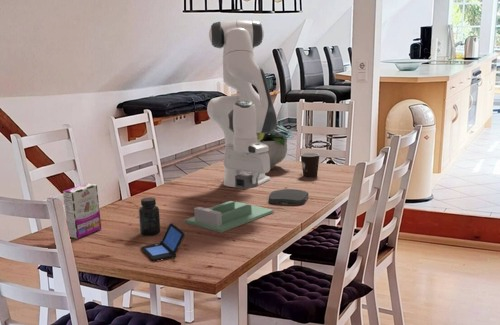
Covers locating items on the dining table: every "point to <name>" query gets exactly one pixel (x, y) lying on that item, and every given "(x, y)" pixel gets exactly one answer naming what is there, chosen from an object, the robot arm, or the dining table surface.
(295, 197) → the media streaming box
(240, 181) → the labelled grey storage bin
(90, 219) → the candy bar box
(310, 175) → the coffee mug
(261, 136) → the flower arrangement
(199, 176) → the dining table surface
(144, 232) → the supplement bottle
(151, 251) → the handheld game console
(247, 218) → the board
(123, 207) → the dining table surface
